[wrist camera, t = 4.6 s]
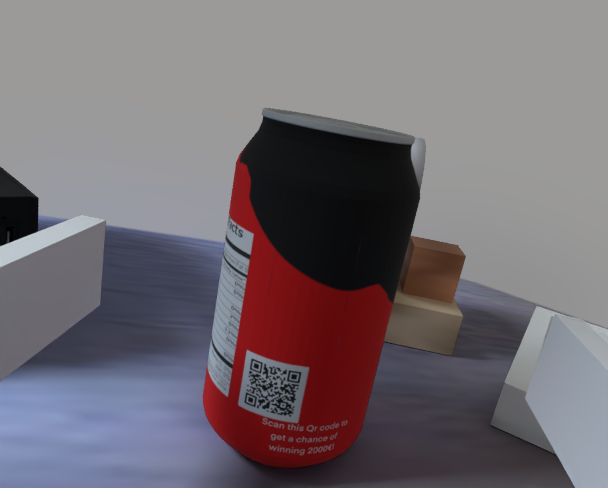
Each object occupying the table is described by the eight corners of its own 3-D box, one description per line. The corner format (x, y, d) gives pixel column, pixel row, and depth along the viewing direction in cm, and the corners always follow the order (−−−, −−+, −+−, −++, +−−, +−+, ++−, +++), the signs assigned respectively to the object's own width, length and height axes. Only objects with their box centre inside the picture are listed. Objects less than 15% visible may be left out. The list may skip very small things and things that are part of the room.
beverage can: (342, 510, 16) (435, 145, 13) (169, 451, 18) (212, 101, 14) (365, 406, 22) (433, 137, 19) (234, 367, 23) (276, 106, 20)
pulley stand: (280, 323, 29) (318, 121, 26) (295, 282, 35) (326, 118, 32) (453, 360, 28) (513, 158, 25) (434, 311, 35) (480, 147, 32)
